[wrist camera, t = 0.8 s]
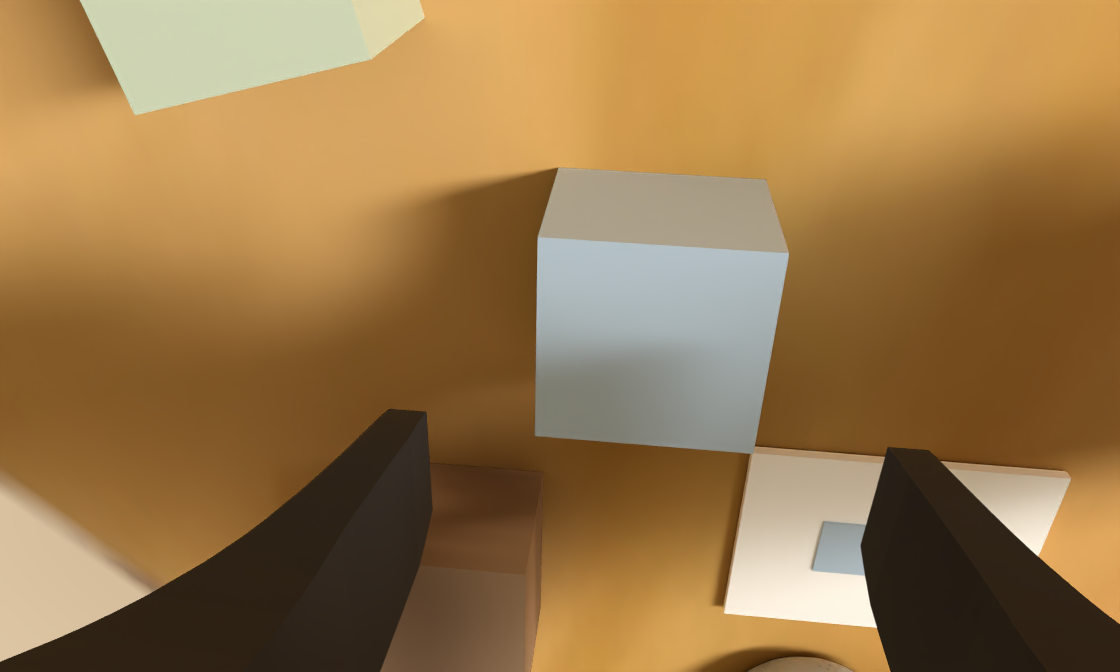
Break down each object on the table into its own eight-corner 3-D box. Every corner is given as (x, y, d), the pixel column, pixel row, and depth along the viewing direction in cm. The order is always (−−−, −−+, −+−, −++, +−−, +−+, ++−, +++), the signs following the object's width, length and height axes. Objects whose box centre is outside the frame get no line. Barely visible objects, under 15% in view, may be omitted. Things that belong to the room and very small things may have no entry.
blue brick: (765, 177, 19) (789, 253, 15) (738, 354, 21) (753, 453, 18) (559, 165, 19) (537, 237, 16) (554, 340, 22) (535, 436, 18)
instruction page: (1066, 471, 22) (1072, 481, 22) (999, 631, 25) (1003, 641, 25) (751, 446, 22) (753, 455, 22) (723, 605, 25) (724, 615, 25)
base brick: (543, 468, 24) (525, 575, 20) (541, 603, 26) (524, 718, 23) (354, 452, 24) (304, 554, 21) (371, 588, 27) (329, 698, 23)
